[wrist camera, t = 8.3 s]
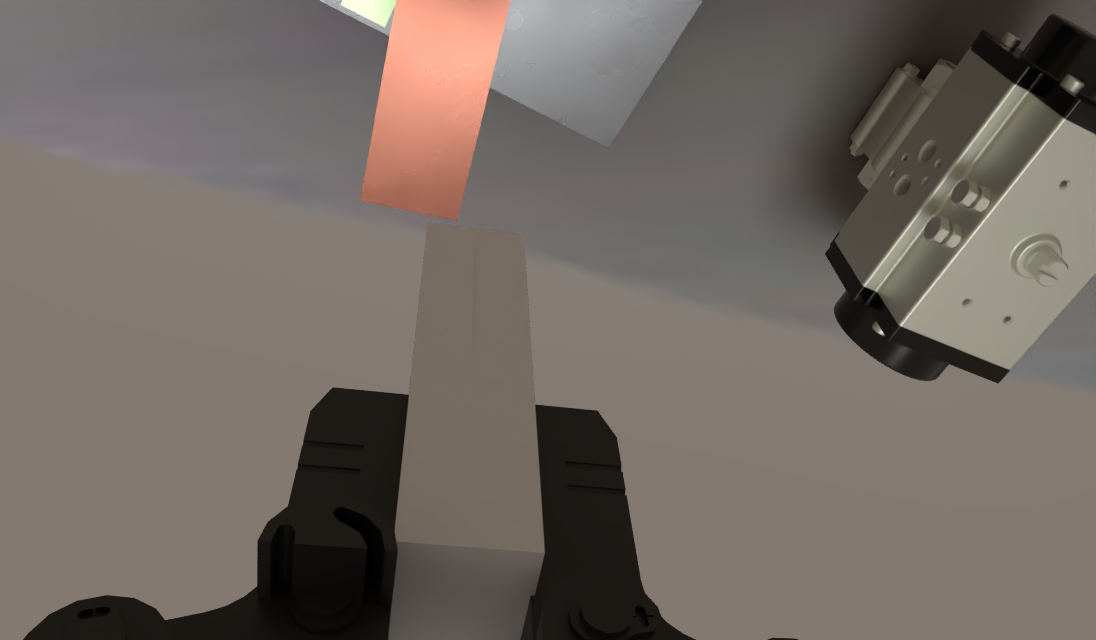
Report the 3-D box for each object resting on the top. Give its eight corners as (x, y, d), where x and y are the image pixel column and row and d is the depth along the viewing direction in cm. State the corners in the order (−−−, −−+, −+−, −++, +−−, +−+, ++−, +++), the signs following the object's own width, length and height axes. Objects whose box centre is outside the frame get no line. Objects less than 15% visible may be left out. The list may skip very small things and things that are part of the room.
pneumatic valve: (1048, 5, 36) (1263, 134, 27) (865, 254, 42) (986, 436, 32) (932, -59, 35) (1114, 53, 25) (758, 208, 41) (850, 385, 31)
